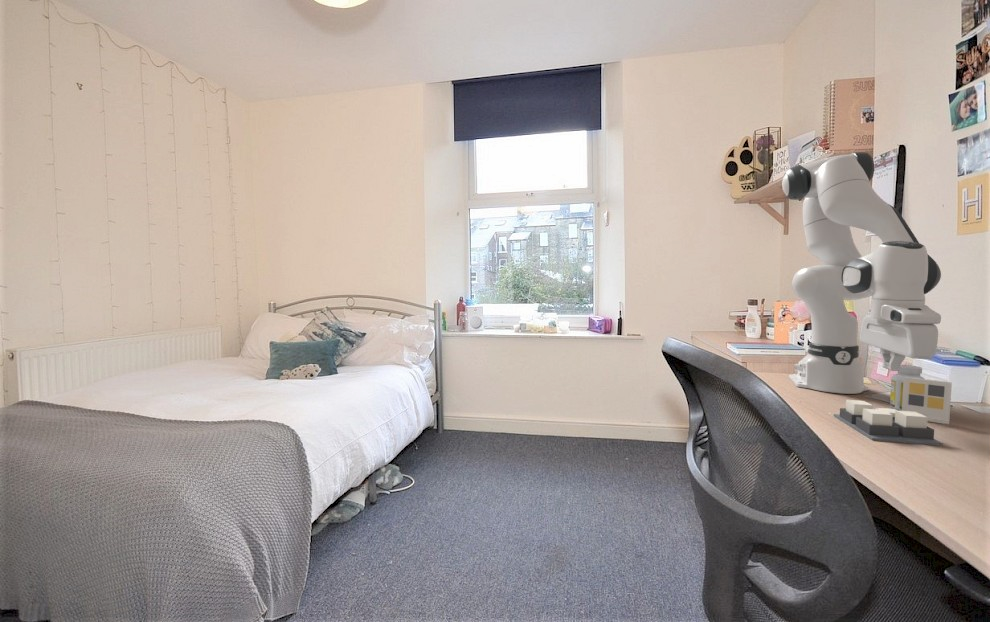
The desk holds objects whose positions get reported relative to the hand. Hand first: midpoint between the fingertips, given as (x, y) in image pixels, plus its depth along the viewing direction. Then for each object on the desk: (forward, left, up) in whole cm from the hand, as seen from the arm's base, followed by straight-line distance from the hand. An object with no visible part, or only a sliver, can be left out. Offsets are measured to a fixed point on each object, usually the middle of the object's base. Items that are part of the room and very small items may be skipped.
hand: (890, 369), depth 95 cm
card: (-6, +10, -13) cm, 18 cm away
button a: (+1, 0, -13) cm, 13 cm away
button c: (+1, -6, -11) cm, 13 cm away
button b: (+8, 0, -11) cm, 14 cm away
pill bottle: (-14, +11, -14) cm, 23 cm away
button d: (+8, -6, -11) cm, 15 cm away
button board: (+4, -3, -13) cm, 14 cm away
